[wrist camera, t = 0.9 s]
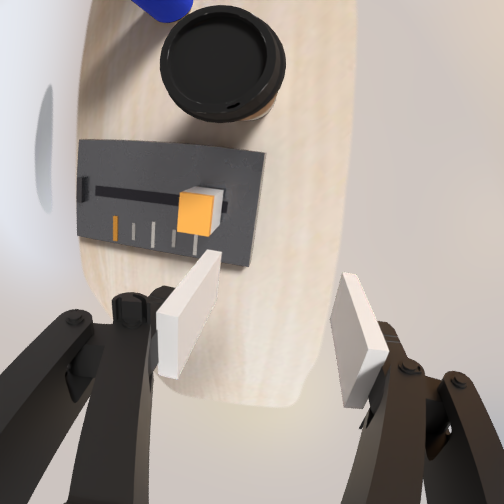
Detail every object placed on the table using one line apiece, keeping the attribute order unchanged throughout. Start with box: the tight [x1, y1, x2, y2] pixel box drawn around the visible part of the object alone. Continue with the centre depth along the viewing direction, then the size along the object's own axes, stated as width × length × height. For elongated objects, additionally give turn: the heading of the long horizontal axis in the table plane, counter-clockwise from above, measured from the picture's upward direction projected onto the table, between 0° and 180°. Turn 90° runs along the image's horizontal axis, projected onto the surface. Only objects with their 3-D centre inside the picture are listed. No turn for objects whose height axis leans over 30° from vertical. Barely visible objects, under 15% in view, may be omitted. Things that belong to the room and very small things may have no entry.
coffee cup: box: [160, 5, 286, 123], centre depth 23 cm, size 8×8×15 cm
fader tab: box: [177, 186, 224, 237], centre depth 30 cm, size 4×3×4 cm
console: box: [77, 139, 266, 267], centre depth 33 cm, size 12×22×3 cm, turn 82°
